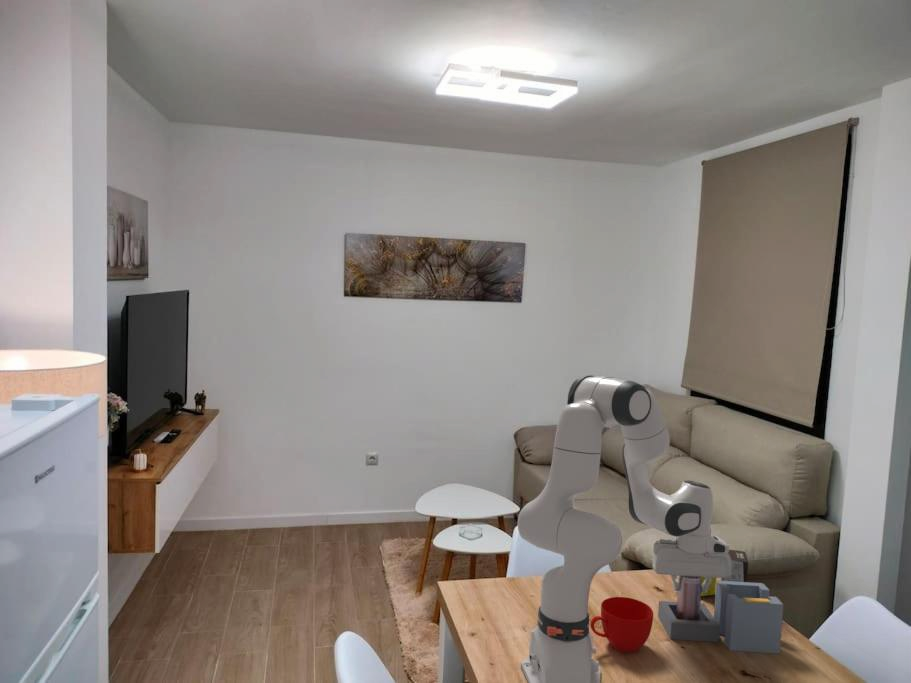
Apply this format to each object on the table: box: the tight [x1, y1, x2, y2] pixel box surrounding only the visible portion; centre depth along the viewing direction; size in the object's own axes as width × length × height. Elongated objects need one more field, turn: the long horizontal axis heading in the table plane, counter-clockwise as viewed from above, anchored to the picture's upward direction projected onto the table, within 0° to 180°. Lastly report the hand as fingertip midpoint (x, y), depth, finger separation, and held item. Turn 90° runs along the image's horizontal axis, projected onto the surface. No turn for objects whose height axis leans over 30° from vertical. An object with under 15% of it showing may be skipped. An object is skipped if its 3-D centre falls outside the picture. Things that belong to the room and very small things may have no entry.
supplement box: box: [701, 577, 717, 599], centre depth 203 cm, size 6×6×11 cm
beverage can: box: [676, 576, 702, 621], centre depth 181 cm, size 6×6×15 cm
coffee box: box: [720, 549, 749, 582], centre depth 194 cm, size 9×6×16 cm
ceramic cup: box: [589, 596, 654, 654], centre depth 170 cm, size 13×17×10 cm
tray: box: [657, 600, 720, 643], centre depth 181 cm, size 12×12×4 cm
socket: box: [713, 580, 784, 655], centre depth 176 cm, size 12×12×13 cm
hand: (689, 590), depth 180 cm, fingers closed on beverage can, 6 cm apart
